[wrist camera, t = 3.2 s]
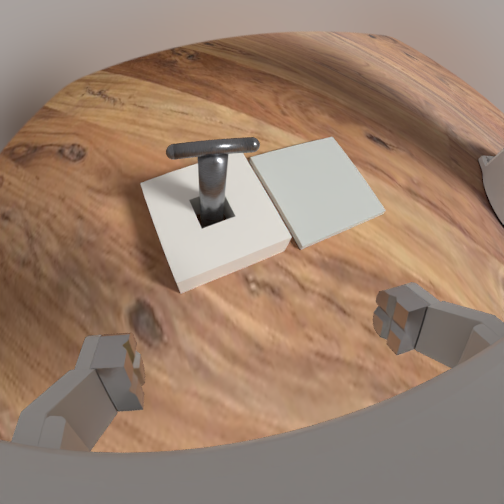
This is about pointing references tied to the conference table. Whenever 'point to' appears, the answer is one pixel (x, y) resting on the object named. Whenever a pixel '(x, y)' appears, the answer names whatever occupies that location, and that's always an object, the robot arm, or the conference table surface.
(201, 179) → the chuck key
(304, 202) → the rubber mat
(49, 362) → the conference table surface
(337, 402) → the conference table surface
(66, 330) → the conference table surface
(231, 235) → the white square-hole block
